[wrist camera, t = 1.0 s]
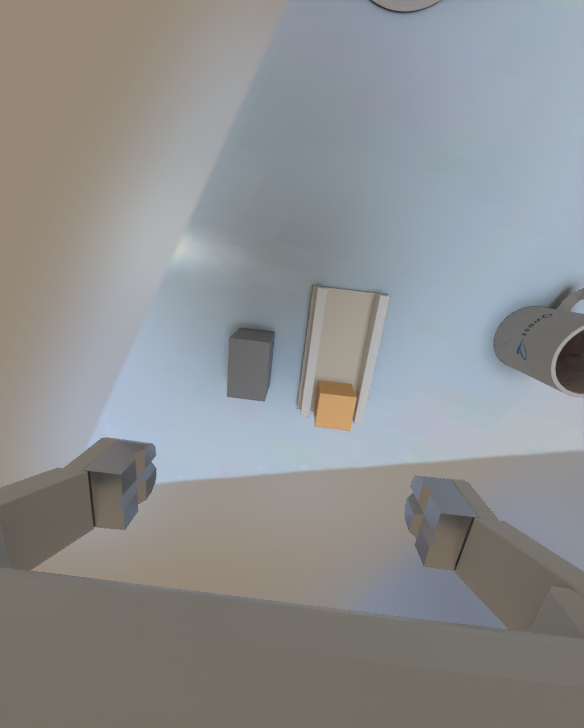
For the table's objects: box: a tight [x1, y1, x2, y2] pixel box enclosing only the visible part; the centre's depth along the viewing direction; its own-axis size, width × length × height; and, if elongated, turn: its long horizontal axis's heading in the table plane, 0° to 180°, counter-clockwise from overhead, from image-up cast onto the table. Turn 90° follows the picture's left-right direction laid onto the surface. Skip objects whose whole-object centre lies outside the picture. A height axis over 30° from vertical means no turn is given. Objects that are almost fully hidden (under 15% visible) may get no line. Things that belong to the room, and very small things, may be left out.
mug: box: [494, 288, 584, 398], centre depth 35 cm, size 12×9×10 cm
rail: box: [297, 286, 390, 431], centre depth 39 cm, size 18×10×6 cm, turn 174°
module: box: [227, 328, 275, 401], centre depth 40 cm, size 8×5×6 cm, turn 174°
